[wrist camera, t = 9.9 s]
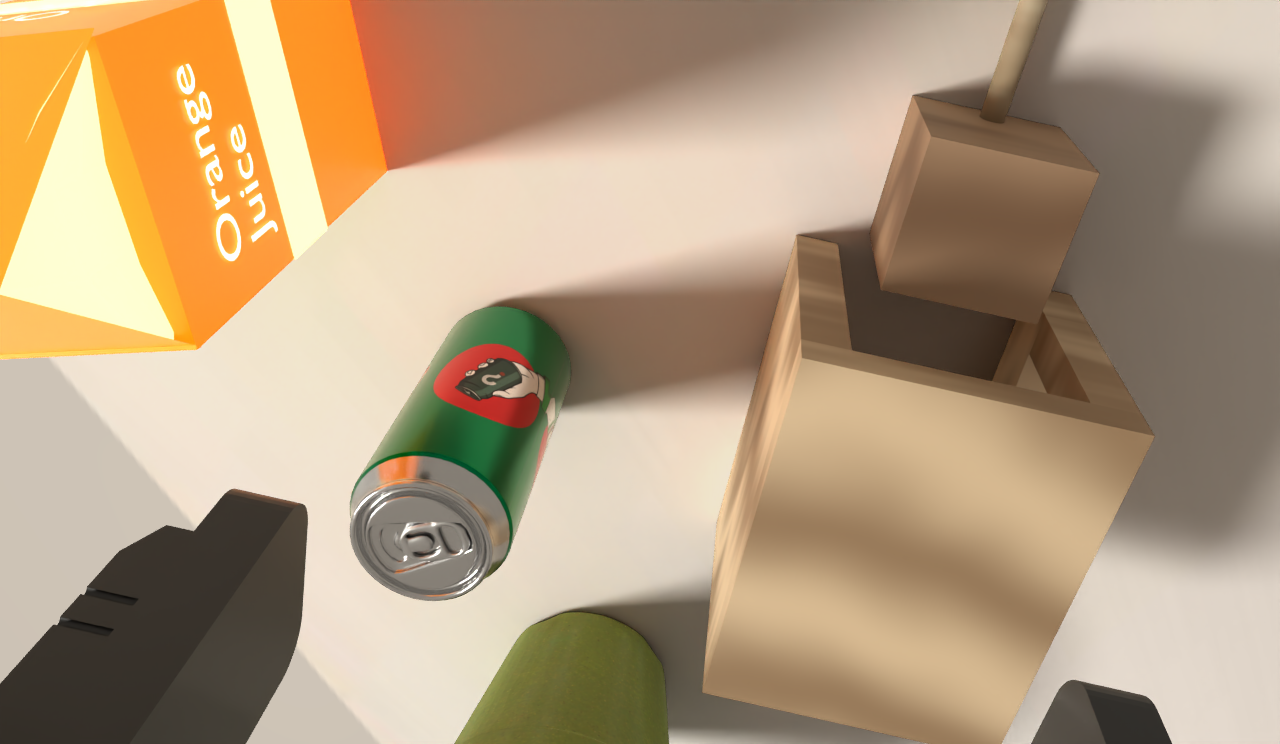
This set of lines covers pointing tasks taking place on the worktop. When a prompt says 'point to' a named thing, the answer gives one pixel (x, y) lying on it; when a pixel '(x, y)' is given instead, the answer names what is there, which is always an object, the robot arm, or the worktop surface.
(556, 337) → the soda can
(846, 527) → the box
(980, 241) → the tethered block
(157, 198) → the orange juice
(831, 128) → the worktop surface
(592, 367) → the worktop surface
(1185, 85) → the worktop surface
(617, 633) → the plant pot
